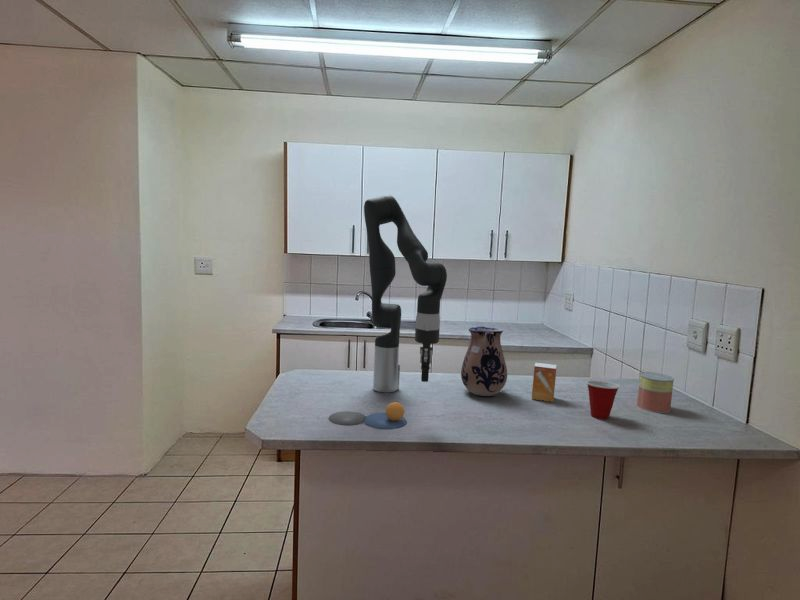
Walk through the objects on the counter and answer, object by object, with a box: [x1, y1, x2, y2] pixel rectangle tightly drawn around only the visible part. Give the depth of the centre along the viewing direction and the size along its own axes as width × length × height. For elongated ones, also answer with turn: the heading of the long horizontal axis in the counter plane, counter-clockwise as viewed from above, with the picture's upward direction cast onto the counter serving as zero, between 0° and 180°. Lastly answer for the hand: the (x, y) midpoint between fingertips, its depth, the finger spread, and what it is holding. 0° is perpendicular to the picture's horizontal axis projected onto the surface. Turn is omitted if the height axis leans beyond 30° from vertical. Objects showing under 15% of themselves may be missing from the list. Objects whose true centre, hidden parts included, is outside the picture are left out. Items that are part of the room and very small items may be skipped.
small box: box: [531, 362, 558, 403], centre depth 195 cm, size 8×6×13 cm
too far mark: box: [328, 410, 367, 426], centre depth 166 cm, size 12×12×1 cm
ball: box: [385, 401, 405, 421], centre depth 165 cm, size 6×6×6 cm
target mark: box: [363, 412, 408, 430], centre depth 165 cm, size 14×14×1 cm
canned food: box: [636, 371, 675, 414], centre depth 190 cm, size 11×11×12 cm
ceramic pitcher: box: [460, 325, 508, 397], centre depth 200 cm, size 18×21×25 cm
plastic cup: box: [586, 380, 621, 420], centre depth 178 cm, size 11×11×12 cm
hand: (424, 381), depth 163 cm, fingers closed
